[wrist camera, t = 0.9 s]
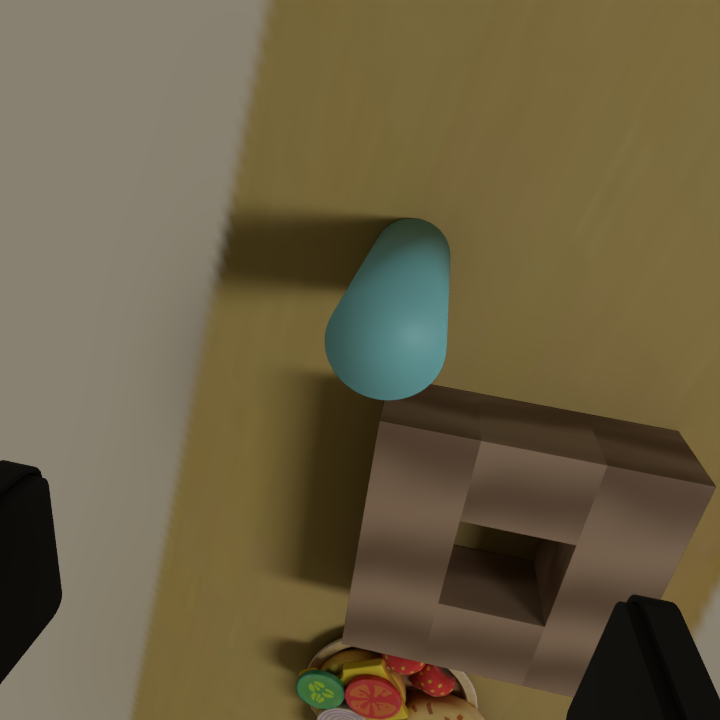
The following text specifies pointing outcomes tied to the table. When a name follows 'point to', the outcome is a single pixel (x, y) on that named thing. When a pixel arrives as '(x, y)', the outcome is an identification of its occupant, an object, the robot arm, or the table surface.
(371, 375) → the peg
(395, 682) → the toy food set
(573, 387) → the table surface
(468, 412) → the socket block
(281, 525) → the table surface
